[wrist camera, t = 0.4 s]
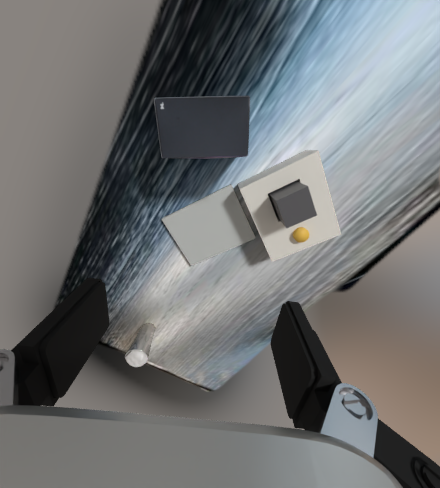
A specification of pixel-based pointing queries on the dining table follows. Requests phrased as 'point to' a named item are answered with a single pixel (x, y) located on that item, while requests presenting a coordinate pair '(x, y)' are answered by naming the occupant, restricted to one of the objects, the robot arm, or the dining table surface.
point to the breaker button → (293, 203)
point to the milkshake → (141, 346)
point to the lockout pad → (210, 226)
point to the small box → (203, 126)
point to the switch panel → (261, 209)
